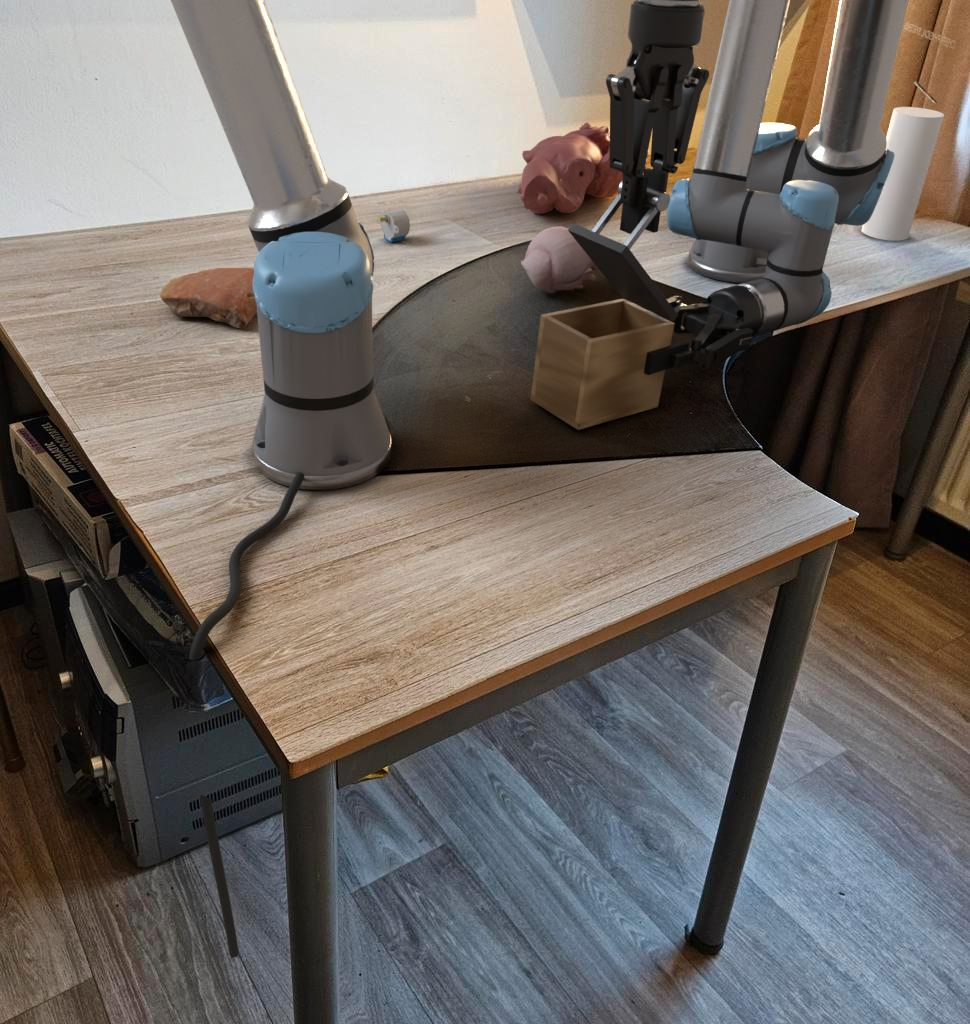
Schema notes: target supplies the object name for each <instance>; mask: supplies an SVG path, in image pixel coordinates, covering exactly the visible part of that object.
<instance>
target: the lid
mask: <svg viewBox="0 0 970 1024" xmlns="http://www.w3.org/2000/svg"><path fill="white" fill-rule="evenodd" d="M621 190H622V182H621V183H620V185H619V187H618V192H617V194H616V195H617V196H616V197H615V198H614V199H613V201H612V202H611V203H610V205H609V206H608V208H607V209H606V210H605V212H604V213H603V214H602V216H601V217H600V218H599V220H598V221H597V223H596V224H595V225H594V226H593V227H592V229H591V230H590V229H588V228H586V227H584V226H581V225H579V224H576V223H574V222H572V223H571V224H570V225H569V227H568V231H569V232H570V234H571V235H572V236H573V237H574V239H575V240H576V241H577V242H578V244H579V245H580V246H581V247H582V249H583V250H584V251H585V252H586V254H587V255H588V256H589V257H590V258H591V260H592V261H593V262H594V263H595V265H596V266H597V269H598V270H599V271H600V272H601V274H603V276H604V277H605V279H606V280H607V281H608V282H609V284H610V285H611V287H613V288H614V290H615V291H616V293H618V294H619V296H620V297H621V299H625V300H627V301H629V302H631V303H635V304H637V305H639V306H641V307H643V308H645V309H647V310H649V311H652V312H654V313H656V314H658V315H660V316H662V317H664V318H666V319H668V320H670V321H672V322H673V321H674V320H675V319H676V318H677V316H678V314H677V313H676V311H675V310H674V309H673V307H672V306H671V305H670V303H669V302H668V301H667V299H668V298H666V297H665V295H664V293H662V291H661V290H660V289H659V287H658V286H657V284H656V283H655V282H654V280H653V279H652V277H651V276H650V275H649V274H648V272H647V271H646V269H645V268H644V267H643V266H642V264H641V262H640V261H639V260H638V259H637V257H636V256H635V254H634V253H633V252H632V251H631V249H632V248H633V246H634V244H636V242H637V240H638V239H639V238H640V237H641V236H642V234H643V232H644V231H646V230H645V228H646V227H647V226H648V224H649V223H650V222H651V220H652V219H653V218H654V216H655V215H656V214H657V212H658V211H660V212H664V211H667V207H668V205H669V203H670V196H671V195H670V194H669V193H667V192H666V193H665V192H662V191H659V190H657V189H654V188H651V187H648V186H647V193H646V198H645V206H647V207H649V208H650V209H649V210H648V212H647V213H646V214H645V216H644V217H643V218H642V220H641V221H640V222H639V224H638V225H637V226H636V228H635V229H634V230H633V232H632V233H631V234H629V236H628V237H627V238H626V239H625V241H624V243H621V242H619V241H616V240H614V239H612V238H610V237H607V236H605V235H602V234H601V233H602V231H603V230H604V228H605V227H606V225H607V224H608V223H609V222H610V221H611V219H612V218H613V216H614V215H615V214H616V212H617V211H618V209H619V208H620V207H621V205H623V203H621V199H620V198H621Z"/></svg>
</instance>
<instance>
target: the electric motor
mask: <svg viewBox="0 0 970 1024" xmlns="http://www.w3.org/2000/svg"><path fill="white" fill-rule="evenodd" d="M376 222H377V224H378V225H380V227H381V231H382V233H383V238H384V240H385V241H388V242H389V243H394V242H395V243H396V242H399V241H404V240H405V238H406V236H407V235H409V233H410V229H411V222H410V218H409V216H408V213H407V212H406V210H404V209H403V208H397V209H392V210H387V211H384V212H383V213H382V214H381V216H378V217H377V218H376Z"/></svg>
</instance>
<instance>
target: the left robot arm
mask: <svg viewBox="0 0 970 1024" xmlns="http://www.w3.org/2000/svg"><path fill="white" fill-rule="evenodd" d="M170 3H171V5H172V7H173V10H174V12H175V14H176V17H177V19H178V21H179V25H180V27H181V29H182V31H183V33H184V37H185V39H186V41H187V45H188V47H189V49H190V51H191V54H192V56H193V58H194V59H193V60H194V61H195V63H196V66H197V68H198V71H199V74H200V76H201V78H202V80H203V83H204V85H205V88H206V91H207V93H208V95H209V97H210V100H211V102H212V105H213V107H214V110H215V112H216V114H217V117H218V120H219V122H220V124H221V127H222V129H223V132H224V134H225V137H226V139H227V141H228V144H229V146H230V148H231V151H232V153H233V154H232V155H233V156H234V159H235V161H236V164H237V167H238V168H239V170H240V173H241V176H242V178H243V181H244V183H245V186H246V188H247V190H248V192H249V195H250V197H251V200H252V202H253V206H252V208H251V211H250V214H249V216H248V218H247V221H246V223H247V227H248V229H249V232H250V234H251V236H252V240H253V243H254V244H255V246H256V248H257V251H258V253H257V255H256V258H255V260H254V263H253V268H254V276H253V294H254V296H255V300H256V305H257V313H256V315H257V316H256V317H257V326H258V337H259V346H260V347H259V348H260V357H261V358H260V359H261V369H262V378H263V388H264V390H263V391H264V396H263V400H262V404H261V408H260V412H259V415H258V419H257V423H256V427H255V430H254V434H253V439H252V455H253V460H254V464H255V467H256V468H257V470H258V471H259V472H260V473H261V474H262V475H263V476H265V477H266V478H268V479H269V480H271V481H273V482H275V483H278V484H280V485H283V486H286V487H288V488H287V491H286V492H285V495H284V496H283V499H282V502H281V504H280V506H279V508H278V510H277V512H276V513H275V514H274V515H273V517H271V518H270V519H269V520H268V521H267V522H265V523H264V524H262V525H261V526H259V527H258V528H255V530H253V531H252V532H250V533H249V534H247V535H246V536H244V538H242V539H241V540H240V541H239V542H238V544H237V545H236V546H235V548H234V549H233V551H232V552H231V555H230V558H229V562H228V571H229V572H228V573H229V581H230V582H229V590H228V594H227V597H226V598H225V600H224V601H223V602H222V603H221V604H220V605H219V606H218V607H217V608H216V609H214V610H213V611H212V612H211V613H210V614H209V615H208V616H207V617H206V618H205V619H204V620H203V621H202V622H201V624H200V625H199V627H198V629H197V631H196V633H195V635H194V638H193V640H192V643H191V647H190V650H189V656H188V659H189V660H190V661H196V660H199V659H200V658H201V657H202V654H203V650H204V646H205V643H206V640H207V638H208V636H209V634H210V632H211V631H212V630H213V629H214V627H215V626H216V625H217V624H218V623H220V621H222V620H223V619H224V618H225V617H226V616H227V615H228V614H229V613H231V611H232V610H233V609H234V607H235V606H236V604H237V603H238V600H239V598H240V595H241V590H242V576H241V567H240V566H241V560H242V558H243V555H244V554H245V552H246V551H247V550H248V549H249V548H250V547H252V546H253V544H255V543H257V542H258V541H259V540H261V539H263V538H264V537H266V536H267V535H269V534H270V533H272V532H273V531H274V530H275V529H277V527H279V525H281V524H282V523H283V521H284V520H285V519H286V517H287V515H288V513H289V512H290V509H291V507H292V505H293V503H294V500H295V497H296V495H297V493H298V491H299V489H301V490H312V491H314V490H315V491H323V490H327V491H328V490H337V489H342V488H348V487H351V486H355V485H358V484H361V483H363V482H366V481H368V480H370V479H373V478H374V477H375V476H377V475H378V474H380V473H381V472H382V471H383V470H384V469H385V468H386V467H387V466H388V464H389V463H390V461H391V458H392V436H394V425H393V424H392V422H391V421H390V420H389V419H388V417H387V416H386V415H385V413H384V412H383V411H382V408H381V406H380V403H379V400H378V398H377V395H376V393H375V385H374V341H373V340H374V339H373V338H374V336H373V295H374V272H375V271H374V270H375V262H374V260H375V254H374V249H373V244H372V242H371V239H370V236H369V234H368V232H367V231H366V230H365V227H364V225H362V223H361V222H360V221H359V219H358V217H357V215H356V211H355V208H354V206H353V203H352V200H351V198H350V194H349V192H348V190H347V188H346V187H345V186H344V185H342V184H341V183H338V182H336V181H334V180H332V179H331V178H330V177H329V176H328V173H327V171H326V168H325V165H324V163H323V159H322V156H321V154H320V152H319V149H318V146H317V143H316V140H315V138H314V134H313V133H312V132H313V131H312V129H311V125H310V123H309V121H308V118H307V115H306V111H305V110H304V107H303V104H302V102H301V99H300V95H299V93H298V90H297V87H296V85H295V81H294V79H293V76H292V73H291V70H290V67H289V65H288V62H287V60H286V59H287V58H286V56H285V54H284V51H283V48H282V46H281V43H280V39H279V37H278V35H277V32H276V29H275V26H274V23H273V20H272V18H271V15H270V12H269V9H268V6H267V4H266V1H265V0H170ZM705 15H706V8H704V5H703V4H702V0H634V1H633V3H631V4H630V12H629V18H628V19H629V20H628V29H627V38H628V40H629V42H630V44H631V49H630V53H629V56H628V58H627V60H626V64H625V65H626V67H625V68H624V69H623V70H621V72H619V73H617V74H613V73H610V74H608V75H607V77H606V78H605V84H606V89H607V92H608V95H609V129H610V132H609V136H610V167H611V168H613V169H616V170H619V171H621V172H622V174H623V181H622V190H621V198H620V199H621V203H622V207H621V208H622V209H621V216H620V225H619V230H620V231H622V232H624V233H627V234H629V235H631V233H632V232H633V230H634V229H635V228H636V226H637V225H638V224H639V222H640V221H641V220H642V218H643V217H644V216H645V214H646V213H647V212H648V210H649V209H650V208H649V207H647V206H645V198H646V193H647V186H648V187H651V188H654V189H657V190H659V191H662V192H665V193H667V187H668V182H669V181H668V180H669V175H670V174H672V175H674V174H676V173H677V171H678V169H679V166H676V165H677V164H678V165H682V164H683V163H684V162H685V160H686V156H687V153H688V149H689V144H690V141H691V135H692V132H693V128H694V125H695V120H696V115H697V111H698V107H699V103H700V99H701V95H702V92H703V90H704V88H705V86H706V84H707V81H708V80H709V77H710V71H709V70H708V69H705V68H701V67H699V66H697V65H696V64H695V56H694V55H695V54H694V47H696V46H698V45H699V44H700V42H701V41H702V35H703V27H704V20H705ZM650 143H651V144H650ZM650 145H651V147H650ZM649 148H650V160H649V162H650V163H649V164H650V166H651V167H652V168H651V167H646V169H644V168H645V163H646V160H647V159H648V158H647V153H648V154H649ZM646 158H647V159H646ZM633 162H634V163H633ZM660 220H661V212H660V211H658V212H657V214H656V215H655V216H654V218H653V219H652V220H651V222H650V223H649V224H648V226H647V227H646V228H645V230H644V231H648V232H650V233H654V234H655V233H658V232H659V227H660ZM391 435H392V436H391ZM199 801H200V806H201V807H200V808H201V812H202V818H203V824H204V829H205V834H206V839H207V846H208V851H209V855H210V860H211V865H212V870H213V875H214V879H215V884H216V889H217V894H218V898H219V904H220V909H221V910H220V911H221V915H222V919H223V925H224V931H225V936H226V942H227V948H228V953H229V957H230V958H233V959H235V958H237V957H238V956H239V955H240V950H239V945H238V938H237V937H238V936H237V932H236V926H235V920H234V915H233V910H232V904H231V898H230V893H229V887H228V884H227V883H228V882H227V877H226V872H225V866H224V862H223V857H222V851H221V846H220V840H219V835H218V830H217V824H216V818H215V813H214V806H213V800H212V798H210V797H209V796H206V795H203V794H199Z"/></svg>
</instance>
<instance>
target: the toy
mask: <svg viewBox="0 0 970 1024" xmlns="http://www.w3.org/2000/svg"><path fill="white" fill-rule="evenodd" d="M568 229H569V227H568V228H567V227H563V226H551V227H548V228H545V229H543V230H541V231H540V232H539V233H537V234H536V235H535V236H534V237H533V238H532V239H531V241H530V243H529V244H528V247H527V249H526V252H525V256H524V259H523V260H520V263H521V266H522V268H523V269H524V270H525V272H526V274H527V276H528V278H529V279H530V282H531V283H532V284H533V286H534V288H536V289H537V290H538V291H540V292H544V293H548V294H554V293H556V291H572V292H575V290H574V289H576V290H577V289H578V290H580V291H581V290H583V288H584V285H583V282H585V281H588V280H590V281H591V282H595V281H596V279H597V278H596V276H595V274H593V273H594V272H595V271H596V270H597V269H598V267H597V266H596V265H595V263H594V262H593V261H592V260H591V258H590V257H589V256H588V255H587V254H586V252H585V251H584V250H583V249H582V247H581V246H580V245H579V244H578V242H577V241H576V240H575V239H574V237H573V236H572V235H571V234H570V232H569V231H568Z"/></svg>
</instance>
